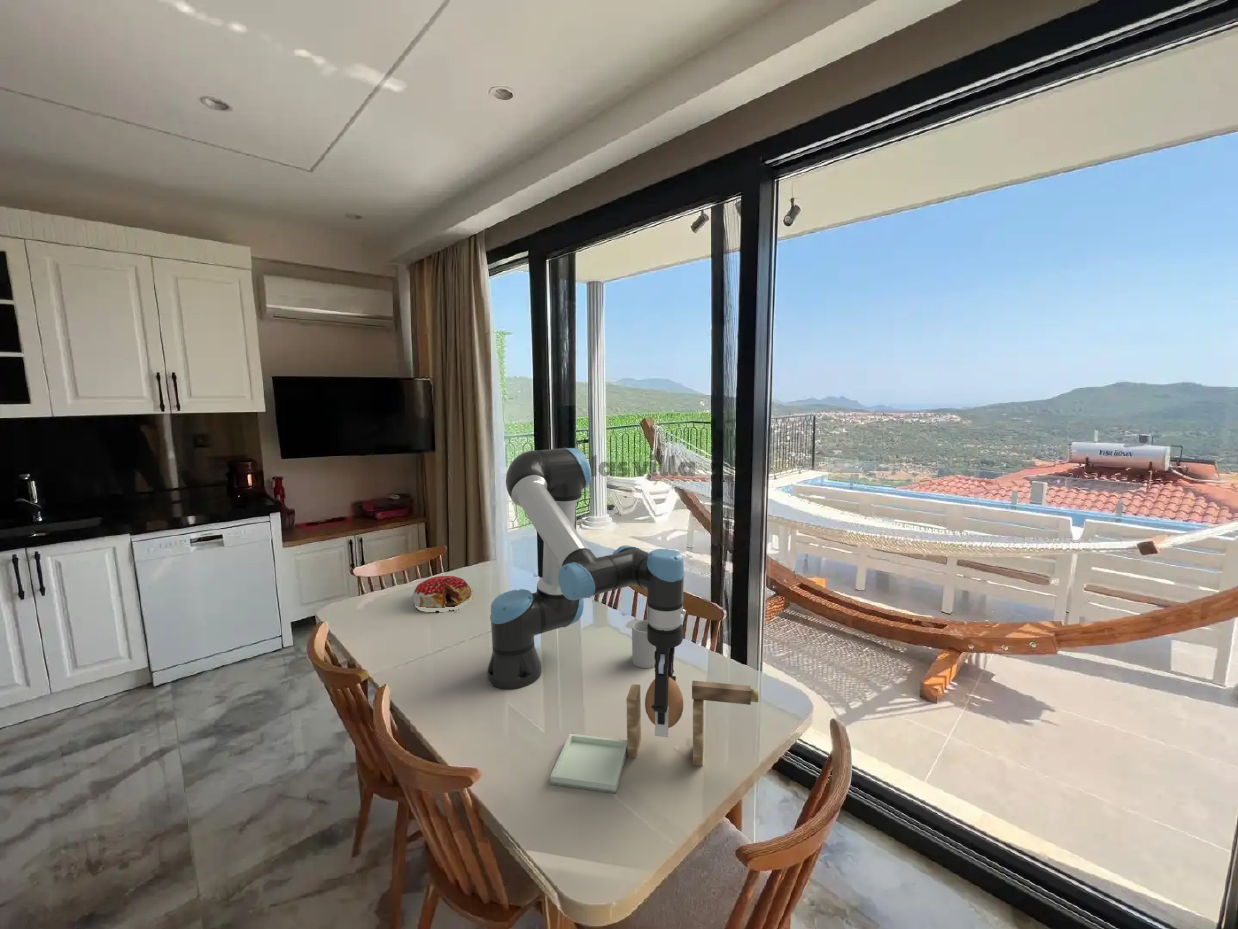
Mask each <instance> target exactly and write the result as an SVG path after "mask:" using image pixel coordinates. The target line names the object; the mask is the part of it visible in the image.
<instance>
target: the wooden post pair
mask: <svg viewBox="0 0 1238 929" xmlns="http://www.w3.org/2000/svg"><path fill="white" fill-rule="evenodd" d="M692 700H693V701H692V702H693V703H692V765H693V766H700V767H703V763H704V749H705V748H704V747H705V746H704V745H705V744H704V739H705V738H704V735H705V733H704V732H705V730H704V729H705V726H704V725H705V723H704V722H705V718H704V716H705V711H704V709H705V708H704V706H705V704H704V702H705V700H697V699H692ZM641 710H642V709H641V684H637V683H636V684H633V683H631V685H630V688H629V691H628V694H627V697H626V740H627V755H626V757H629V758H637V757H638V754H639V750H640V745H641V742H642V721H641V720H642V719H641V718H642V716H641V715H642V714H641V712H642V711H641Z"/></svg>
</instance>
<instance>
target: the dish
mask: <svg viewBox="0 0 1238 929" xmlns="http://www.w3.org/2000/svg"><path fill="white" fill-rule="evenodd" d="M626 757H627V739H620V738H619V739H618V738H609V737H600V736H595V735H593V736H592V735H585V734H577V733H569V735H568V737H567V739H566V741H565V743H564V745H563V747H562V750H561V752H560V754H559V756H558V759H557V761H556V763H555V765H554V767H553V769H552V772H551V773H550V776H549V780H550V785H553V786H560V787H567V788H575V789H581V790H588V791H592V792H593V791H594V792H602V793H609V794H617V790H618V788H619V787H618V786H619V784H620V780H621V777H622V773H623V769H624V765H625V762H626V759H627V758H626Z"/></svg>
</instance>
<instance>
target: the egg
mask: <svg viewBox="0 0 1238 929" xmlns="http://www.w3.org/2000/svg"><path fill="white" fill-rule="evenodd" d="M654 695H655V678H654V680H652V681H651V683H650V684H649V686H648V688H647V690H646V693H645V696H644V697H645V699H644V709H645V713H646V715H647V717H648V719H649V721H650V722H651V723H652V724H653V725H654V726H655V711H654V709H653V708H652V705H654ZM668 706H669V707H668V729H669V728H672V727H674V726H675V725H676V724H677V723H678V722H679V721H680V719H681V718H682V715H683V711H684V697H683V693H682V691H681V689H680V686H679V684H678V683H677V681H676V682H675V681H674V680H673V679H672V678H671V677H669V685H668Z"/></svg>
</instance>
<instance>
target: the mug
mask: <svg viewBox="0 0 1238 929" xmlns="http://www.w3.org/2000/svg"><path fill="white" fill-rule="evenodd" d="M647 624H648V622H647V619H644V620H637V621H635V622H634V623H633V624H632V625H631V645H632V646H631V655H632V656H631V661H632V664H633V665H634V666H636V667H637V668H640V669H641V668H642V669H652V668H655V659H654V655H655V651H656V647H655V646H653V645H652V644H650V643H649V641H648V639H647Z"/></svg>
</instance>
